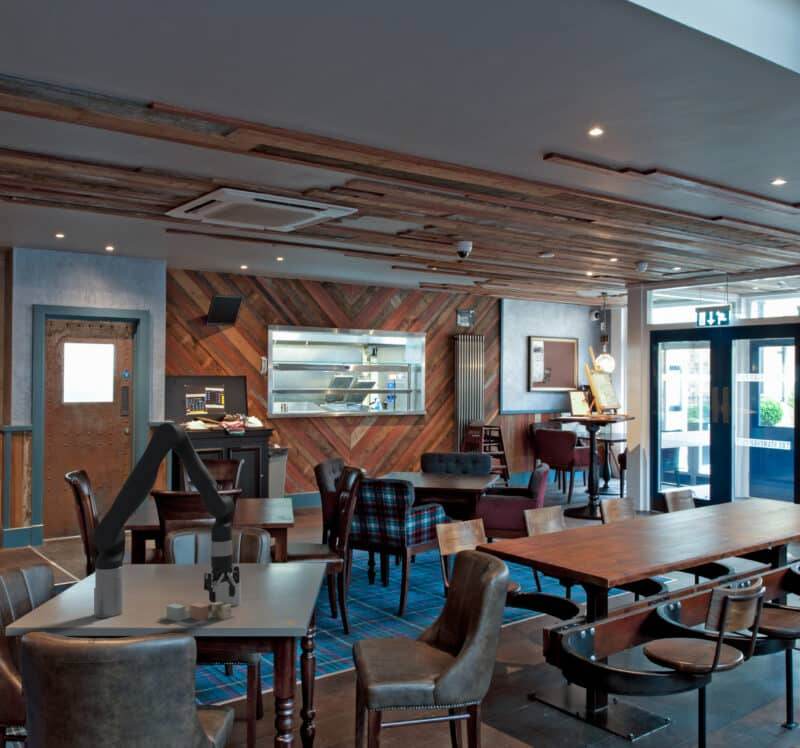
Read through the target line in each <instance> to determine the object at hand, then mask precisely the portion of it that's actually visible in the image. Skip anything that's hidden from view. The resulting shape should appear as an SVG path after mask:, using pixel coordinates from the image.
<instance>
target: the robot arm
mask: <svg viewBox="0 0 800 748" xmlns="http://www.w3.org/2000/svg"><path fill="white" fill-rule="evenodd" d="M171 450H172V451H173V452H175V454H176V455H177V456H178V457H179V459H180V460H181V462H182V464H183V466H184V469H185V472H186V475H187V476H188V479H189V480H190V482H191V483H192V485H193V487H194V488H195V489H196V491H197V492H198V493H199V495H200V497H201V500H202V501H203V504H204V507H205V508H206V511H207V512H208V514H210V516H212V517H213V518H215V519H214V523H213V524H212V526H211V528H210V530H211V532H210V533H211V536H210V537H211V539H210V540H211V543H210V567H211V569H212V570H211V572H205V573H204V575H203V576H204V578H203V579H204V580H203V591H207V592H208V600H209V601H210V603H212V604H213V603H214V602H216V592H215V590H216V588H217V586H219V584H220V583H223V582H228V584H229V585H230V586H229V596H230V597H234V596H235V586H236V584H237V583H239V582H240V579H241V576H240V567H239V566H237V565H233V564H234V562H233V561H234V558H233V557H234V555H233V550H234V548H233V537H232V534H233V532H232V526H233V522H234V521H233V520H234V514H235V503H234V500H233V498H232V497H230V496H229V495H226V494H225V495H224V494H223V495H220V493H219V491H218V487H219V486H218V482H217V481H216V479H215V478H214V477H213V475H212V474H211V472H210V471H209V470H208V468H207V467H206V465H205V464H204V463H203V461H202V459H201V458H200V456H199V455H198V453H197V451H196V449H195V448H194V445H193V443H192V442H191V439H190V438H189V435H188V433H187V431H186V429H185V427H183V425H182V424H180V423H179V422H177V423H176V422H163V423H161V424H159V425H158V426H157V427H156V428H155V430H154V431H153V433H152V436H151V438H150V439H149V442H148V444H147V446H146V448H145V451H143V454H142V455H141V457H140V458H139V460H138V461H137V462H136V465H135V466H134V468H133V469H132V471H131V472H130V474H129V475H128V477H127V478H126V480H125V482H124V483H123V486H122V487H121V489H120V490H119V492H118V494H117V495H116V497H115V499H114V501H113V503H112V504H111V507H110V508H109V510H108V511H107V512H106V513H105V515H104V516H103V517H102V519H101V520H100V522H99V523H98V524H97V526H96V527H95V528H94V529H93V532H92V536H91V541H92V544H93V546H94V547H95V548H96V549H98V550H99V553H98V555H97V557H96V559H95V565H94V567H95V576H94V578H95V583H94V584H95V587H94V589H93V614H94V617H96V618H98V619H110V618H111V619H112V618H114V617H118V616H122V615H123V606H124V605H123V602H124V600H123V599H124V598H123V596H124V595H123V592H124V591H123V589H124V587H123V584H124V583H123V578H124V576H123V575H124V573H123V572H124V571H123V567H124V565H123V564H124V559H125V555H126V554H125V553H126V531H125V527H124V526H125V525H126V523H127V521H128V520H129V518H130V517H131V516H132V515H133V514H134V513H135V512H136V511H137V510H138V509H139V507H140V506H141V505H142V504H143V503H144V502H145V500H146V499H147V498H148V496H149V495H150V493H151V491H152V490H153V488H154V486H155V485H156V482H157V478H158V474H159V471H160V467H161V464H162V462H163V461H164V459H165V458H166V456H167V455H168V454H169V452H170V451H171ZM231 573H232V576H231ZM215 581H216V582H215Z"/></svg>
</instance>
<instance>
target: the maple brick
mask: <svg viewBox="0 0 800 748" xmlns="http://www.w3.org/2000/svg"><path fill="white" fill-rule="evenodd" d="M211 604H212V605H211V611H212V617H215V618H219V619H223V620H224V619H227V618H230V617H231V616H232V606H231V604H227V603H223V602H217V603H213V602H212V603H211Z"/></svg>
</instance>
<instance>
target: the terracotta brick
mask: <svg viewBox="0 0 800 748" xmlns="http://www.w3.org/2000/svg"><path fill="white" fill-rule="evenodd" d="M188 606H189V608H188V611H189V618H193V619H196V620H200V621H201V620H204V619H208V610H209V605H208V604H205V603H200V602H195V603H191V604H189V605H188Z"/></svg>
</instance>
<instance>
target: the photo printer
mask: <svg viewBox="0 0 800 748" xmlns="http://www.w3.org/2000/svg"><path fill="white" fill-rule="evenodd" d="M231 576H232V573H231ZM215 582H216V581H215ZM241 585H242V581H241V578H240V582H239V583H237V584H236V586H235V596H234V597H230V596H229V586H230V585H229V584H228V582H223V583H220V584H219V586H217V588H216V590H215V592H216V602H214V603H217V602H223V603H227V604H231V607H234V606H238V607H239V606H241V605H242V589H241V587H242V586H241Z"/></svg>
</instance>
